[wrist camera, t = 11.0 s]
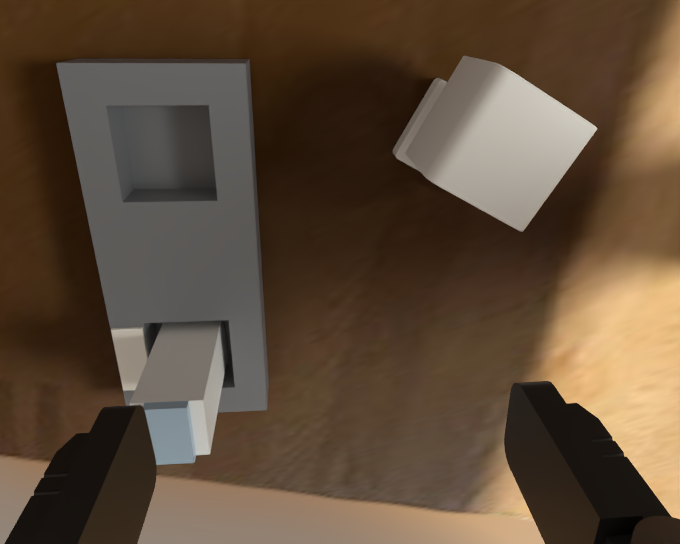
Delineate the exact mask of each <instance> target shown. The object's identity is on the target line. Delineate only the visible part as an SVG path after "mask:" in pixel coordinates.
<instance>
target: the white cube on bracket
mask: <svg viewBox="0 0 680 544" xmlns="http://www.w3.org/2000/svg"><path fill="white" fill-rule="evenodd" d="M596 130H597V127H596V126H594V125H593V124H591V123H590V122H588V121H587V120H585V119H584V118H582V117H581V116H579V115H578V114H576V113H575V112H573V111H572V110H570V109H569V108H567V107H566V106H564V105H563V104H561V103H560V102H558V101H557V100H555V99H553V98H552V97H550V96H549V95H547V94H546V93H544V92H543V91H541V90H540V89H538V88H537V87H535V86H534V85H532V84H531V83H529V82H528V81H526V80H525V79H523V78H521V77H520V76H518V75H517V74H515V73H514V72H512V71H511V70H509V69H507V68H505V67H504V66H502V65H500V64H497V63H494V62H490V61H485V60H481V59H477V58H472V57H468V56H463V57H462V59H461V61H460V62H459V64H458V66H457V67H456V69H455V71H454V72H453V74H452V76H451V77H450V79H449V81H448V82H446V81H445V80H442V79H440V78H436V79H434V80H433V82H432V84H431V85H430V87H429V89H428V91H427V92H426V94H425V96H424V97H423V99H422V101H421V102H420V104H419V106H418V108H417V109H416V111H415V113H414V114H413V116H412V118H411V119H410V121H409V123H408V125H407V126H406V128H405V130H404V131H403V133H402V135H401V136H400V138H399V140H398V141H397V143H396V145H395V147H394V148H393V154H394V155H395V157H396V158H397V159H398V160H400V161H402V162H404V163H405V164H407V165H409V166H411V167H413V168H414V169H416V170H418V171H420V172H421V173H422V174H423V175H424V176H425V177H426V178H427V179H428V180H429V181H431V182H432V183H434V184H435V185H437V186H439V187H441V188H442V189H444V190H446V191H448V192H450V193H451V194H453V195H455V196H457V197H459V198H460V199H462V200H464V201H466V202H468V203H470V204H471V205H473V206H475V207H477V208H479V209H480V210H482V211H484V212H486V213H488V214H489V215H491V216H493V217H495V218H497V219H498V220H500V221H502V222H504V223H506V224H507V225H509V226H511V227H513V228H515V229H517V230H519V231H521V232H523V231H524V229H525V228H526V227H527V225H528V224H529V223H530V221H531V220H532V218H533V217H534V216H535V214H536V213H537V212H538V210H539V209H540V207H541V206H542V205H543V203H544V202H545V201H546V199H547V198H548V196H549V195H550V194H551V192H552V191H553V189H554V188H555V187H556V185H557V184H558V183H559V181H560V180H561V178H562V177H563V176H564V174H565V173H566V172H567V170H568V169H569V167H570V166H571V165H572V163H573V162H574V161H575V159H576V158H577V156H578V155H579V154H580V152H581V151H582V149H583V148H584V147H585V145H586V144H587V143H588V141H589V140H590V138H591V137H592V136H593V134H594V133H595V132H596Z"/></svg>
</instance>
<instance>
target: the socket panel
mask: <svg viewBox="0 0 680 544" xmlns="http://www.w3.org/2000/svg"><path fill="white" fill-rule="evenodd" d="M56 65H57V70H58V75H59V80H60V85H61V90H62V95H63V100H64V105H65V109H66V114H67V119H68V124H69V129H70V134H71V139H72V144H73V149H74V153H75V158H76V163H77V168H78V173H79V178H80V183H81V188H82V193H83V197H84V202H85V207H86V212H87V217H88V222H89V227H90V232H91V237H92V242H93V246H94V251H95V256H96V261H97V266H98V271H99V276H100V281H101V286H102V290H103V295H104V300H105V305H106V310H107V315H108V320H109V325H110V330H111V334H112V339H113V344H114V349H115V354H116V359H117V364H118V369H119V374H120V379H121V383H122V388H123V393H124V398H125V403H126V406H130V401H131V399H132V396H133V394H134V391H135V389H136V387H137V384H138V382H139V379H140V377H141V374H142V372H143V370H144V367H145V365H146V362H147V360H148V357H149V355H150V353H151V350H152V348H153V345H154V343H155V340H156V338H157V336H158V333H159V331H160V328H161V326H162V323H163V322H191V321H220V320H224V326H225V337H226V347H227V362H226V368H225V374H224V379H223V385H222V390H221V396H220V401H219V407H218V412H238V411H258V410H267V403H268V385H269V380H268V363H267V347H266V330H265V313H264V296H263V279H262V262H261V245H260V228H259V211H258V194H257V177H256V160H255V143H254V126H253V109H252V92H251V75H250V59H83V58H78V59H73V60H68V61H63V62H58V63H56Z"/></svg>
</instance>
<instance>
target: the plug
mask: <svg viewBox="0 0 680 544" xmlns="http://www.w3.org/2000/svg"><path fill="white" fill-rule="evenodd" d="M226 362H227V347H226V337H225V326H224V320H220V321H191V322H163V323H162V326H161V328H160V331H159V333H158V336H157V338H156V340H155V343H154V345H153V348H152V350H151V353H150V355H149V357H148V360H147V362H146V365H145V367H144V370H143V372H142V374H141V377H140V379H139V382H138V384H137V387H136V389H135V391H134V394H133V396H132V399H131V401H130V406H131V405H141V406H142V407H143V408H144V411H145V414H146V418H147V423H148V427H149V432H150V436H151V440H152V445H153V449H154V454H155V458H156V465H161V464H180V463H194V462H195V458H196V455H207V454H210V451H211V445H212V440H213V434H214V429H215V423H216V418H217V412H218V407H219V401H220V396H221V390H222V385H223V379H224V374H225V368H226Z"/></svg>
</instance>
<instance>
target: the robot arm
mask: <svg viewBox="0 0 680 544" xmlns="http://www.w3.org/2000/svg"><path fill="white" fill-rule="evenodd" d="M504 445H505V453H506V458H507V461H508V464H509V467H510V469H511V471H512V473H513V476H514V478H515V480H516V482H517V484H518V486H519V488H520V491H521V493H522V495H523V497H524V499H525V501H526V503H527V506H528V508H529V510H530V512H531V514H532V516H533V519H534V521H535V523H536V525H537V527H538V529H539V531H540V534H541V536H542V538H543V540H544V542H545V544H680V519H677V518H672V517H671V516H670V514H669V513H668V512H667V510H666V509H665V508H664V506H663V505H662V504H661V502H660V501H659V500H658V498H657V497H656V495H655V494H654V493H653V491H652V490H651V489H650V487H649V486H648V485H647V483H646V482H645V481H644V479H643V478H642V477H641V475H640V474H639V473H638V471H637V470H636V469H635V467H634V466H633V465H632V463H631V462H630V461H629V459H628V458H627V457H624V453H623V451H622V450H621V448H620V447H619V446H618V444H617V443H616V442H615V441H613V440H612V436H611V435H610V434H609V432H608V431H607V430H606V428H605V427H604V426H603V424H602V423H601V422H600V420H599V419H598V418H597V417H595V416H594V415H593V414H591V413H590V412H588V411H587V410H586V409H584V408H583V407H582V406H580V405H579V404H577V403H571V404H566V402H565V401H564V399H563V398H562V397H561V395H560V394H559V392H558V391H557V389H556V388H555V386H554V385H553V384H552V383H551V382H549V381H541V382H525V383H514V384H513V386H512V388H511V393H510V400H509V407H508V415H507V422H506V429H505V437H504ZM155 482H156V458H155V454H154V449H153V445H152V440H151V436H150V432H149V427H148V423H147V418H146V414H145V411H144V408H143V407H142V406H141V405H131V406H115V407H104V408H103V409H102V410H101V411H100V413H99V415H98V417H97V419H96V421H95V423H94V425H93V427H92V429H91V431H90V433H79V434H76V435H75V436H74V437H72V438H71V439H70V440H69V441H68V442H67V443H66V444H65V445H64V446H63V447H62V448H61V449H59V450H58V451H57V452H56V454H55V455H54V457H53V459H52V461H51V462H50V464H49V466H48V468H47V470H46V471H45V473H44V478H42V479H41V480H40V482H39V484H38V485H37V487H36V489H35V491H34V496H31V498H30V500H29V501H28V503H27V505H26V507H25V508H24V510H23V512H22V514H21V515H20V517H19V519H18V521H17V523H16V524H15V526H14V528H13V530H12V531H11V533H10V535H9V537H8V539H7V540H6V542H5V544H137V542H138V539H139V536H140V532H141V530H142V527H143V523H144V520H145V517H146V514H147V510H148V507H149V504H150V501H151V498H152V495H153V491H154V488H155Z"/></svg>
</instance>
